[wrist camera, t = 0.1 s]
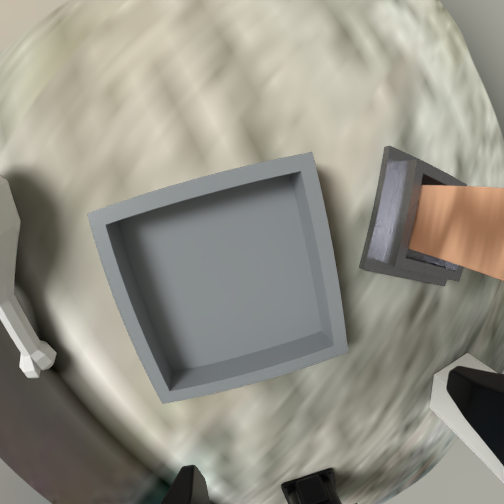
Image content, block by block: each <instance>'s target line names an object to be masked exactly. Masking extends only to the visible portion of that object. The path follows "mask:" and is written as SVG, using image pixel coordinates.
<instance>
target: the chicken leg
mask: <svg viewBox="0 0 504 504" xmlns="http://www.w3.org/2000/svg"><path fill="white" fill-rule="evenodd" d="M20 224H21V221H20V218H19V215H18V212H17V209H16V206H15V203H14V200H13V196H12V193H11V190H10V186H9V183H8V181H7V180H6V179H4V178H3V177H2V176H1V175H0V319H1V321H2V323H3V324H4V326H5V328H6V329H7V331H8V333H9V334H10V336H11V338H12V339H13V341H14V343H15V344H16V346H17V347H18V349H19V350H20V352H21V358H20V366H19V367H20V368H21V369H22V371H23V372H24V373H25V375H26V376H27V377H28V378H39V374H40V371H41V369H42V370H45V369H49V368H50V367H51V366H53V364H54V361H55V358H56V354H57V353H56V352H55V351H54V350H53V349H52V348H51V347H50V346H49V344H48V343H47V342H45V341H41V340H39V338H38V337H37V335H36V333H35V332H34V330H33V328H32V326H31V325H30V323H29V321H28V319H27V318H26V316H25V314H24V312H23V310H22V308H21V307H20V305H19V303H18V301H17V299H16V297H15V295H14V278H15V265H16V255H17V246H18V238H19V231H20Z"/></svg>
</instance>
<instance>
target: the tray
mask: <svg viewBox="0 0 504 504" xmlns="http://www.w3.org/2000/svg"><path fill="white" fill-rule="evenodd" d="M87 215H88V219H89V223H90V226H91V230H92V233H93V237H94V240H95V243H96V247H97V250H98V253H99V256H100V259H101V263H102V266H103V269H104V272H105V274H106V277H107V280H108V283H109V286H110V289H111V291H112V294H113V297H114V299H115V302H116V305H117V307H118V310H119V312H120V315H121V317H122V320H123V322H124V325H125V327H126V329H127V332H128V334H129V336H130V339H131V341H132V343H133V345H134V348H135V350H136V352H137V354H138V356H139V359H140V361H141V363H142V365H143V367H144V369H145V371H146V373H147V375H148V377H149V379H150V381H151V383H152V385H153V387H154V389H155V391H156V393H157V395H158V397H159V398H160V400H161V402H162V404H164V403H170V402H175V401H181V400H186V399H191V398H195V397H200V396H205V395H209V394H214V393H218V392H222V391H226V390H230V389H234V388H238V387H242V386H246V385H249V384H253V383H257V382H260V381H264V380H267V379H271V378H274V377H277V376H281V375H284V374H287V373H290V372H293V371H296V370H299V369H302V368H305V367H308V366H311V365H314V364H317V363H320V362H323V361H325V360H328V359H331V358H333V357H336V356H339V355H341V354H344V353H347V352H348V347H347V338H346V330H345V322H344V314H343V307H342V300H341V293H340V287H339V280H338V274H337V268H336V262H335V256H334V251H333V245H332V240H331V235H330V230H329V224H328V219H327V215H326V210H325V205H324V200H323V196H322V191H321V187H320V182H319V178H318V174H317V169H316V165H315V161H314V157H313V153H312V152H310V153H304V154H299V155H294V156H289V157H284V158H280V159H275V160H270V161H266V162H261V163H257V164H252V165H248V166H244V167H240V168H236V169H232V170H228V171H224V172H220V173H216V174H212V175H208V176H204V177H201V178H197V179H193V180H190V181H186V182H183V183H179V184H176V185H172V186H169V187H166V188H162V189H159V190H156V191H153V192H149V193H146V194H143V195H140V196H137V197H134V198H131V199H128V200H125V201H122V202H119V203H116V204H113V205H110V206H107V207H104V208H102V209H99V210H96V211H93V212H90V213H88V214H87Z"/></svg>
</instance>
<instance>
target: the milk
mask: <svg viewBox="0 0 504 504" xmlns="http://www.w3.org/2000/svg"><path fill="white" fill-rule="evenodd" d="M456 366H464V367H468V368H473V369H478V370H483V371H489V372H494V373H497V372H495V371H494V370H492V369H491V368H489V367H488V366H486V365H485V364H484V363H482V362H481V361H479V360H478V359H476V358H475V357H473V356H472V355H470V354H469V353H466V354H464V355H463V356H462V357H460V358H459V359H457V360H456V361H454V362H453V363H451V364H450V365H448V366H446V367H445V368H443V369H442V370H440V371H439V372H437V373H435V374H434V377H433V385H432V393H431V401H430V409H431V410H432V411H433V412H434V413H435V414H436V415H437V416H438V417H439V418H440V419H441V420H442V421H443V422H444V423H445V424H446V425H447V426H448V427H449V428H450V429H451V430H452V431H453V432H454V433H455V434H456V435H457V436H458V437H459V438H460V439H461V440H462V441H463V442H464V443H465V444H466V445H467V446H468V447H469V448H470V449H471V450H472V451H473V452H474V453H475V454H476V455H477V456H478V457H479V458H480V459H481V460H482V461H483V462H484V463H485V464H486V465H487V466H488V467H489V468H490V470H491V471H493V473H494V474H495V475H496V476H497V477H498V478H499V479H500V480H501V481H502V482H503V483H504V466H503V465H502V464H501V462H500V461H499V460H498V459H497V457H496V456H495V455H494V454H493V452H492V451H491V450H490V449H489V447H488V446H487V445H486V444H485V442H484V441H483V440H482V439H481V438H480V436H479V435H478V434H477V433H476V431H475V430H474V429H473V428H472V427H471V425H470V424H469V423H468V422H467V420H466V419H465V418H464V416H463V415H462V413H461V412H460V410H459V409H458V407H457V406H456V404H455V403H454V401H453V400H452V398H451V397H450V395H449V394H448V392H447V389H446V385H447V380H448V374H449V372H450V370H452V369H453V368H455V367H456Z"/></svg>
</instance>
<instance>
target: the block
mask: <svg viewBox="0 0 504 504" xmlns="http://www.w3.org/2000/svg"><path fill="white" fill-rule="evenodd" d="M408 249H411V250H414V251H418V252H421V253H424V254H427V255H430V256H433V257H436V258H439V259H442V260H445V261H448V262H451V263H454V264H457V265H460V266H463V267H466V268H469V269H472V270H475V271H477V272H480V273H483V274H486V275H489V276H491V277H494V278H497V279H500V280H502V281H504V188H492V187H473V186H443V185H421V189H420V194H419V200H418V205H417V210H416V215H415V220H414V225H413V229H412V234H411V238H410V242H409V246H408Z"/></svg>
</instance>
